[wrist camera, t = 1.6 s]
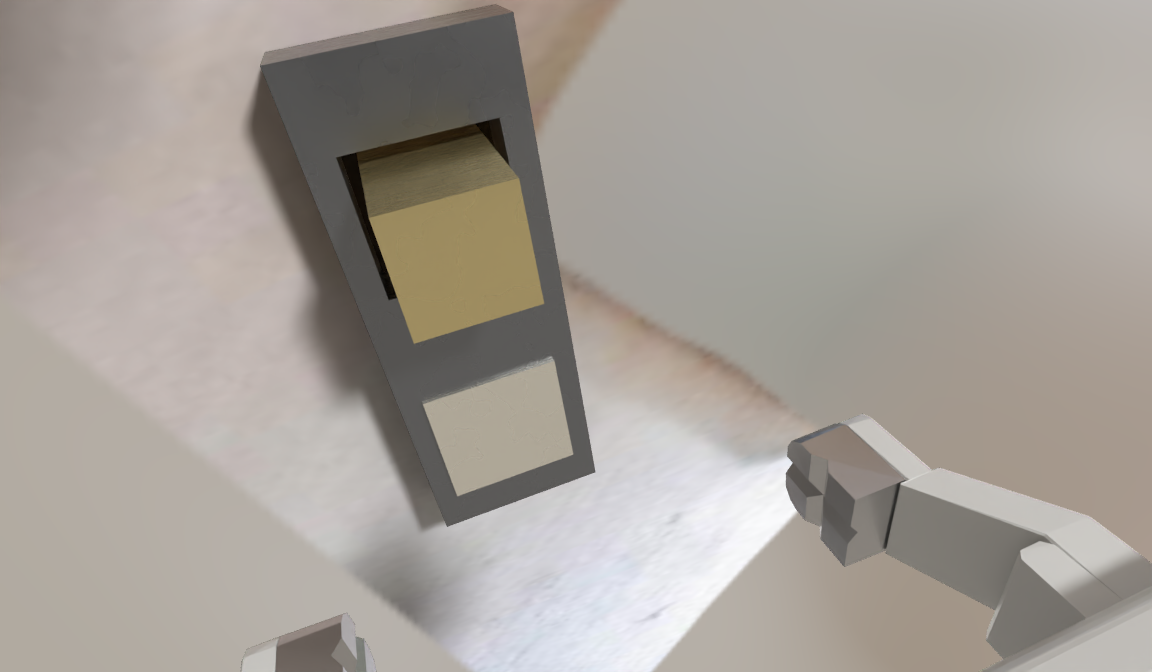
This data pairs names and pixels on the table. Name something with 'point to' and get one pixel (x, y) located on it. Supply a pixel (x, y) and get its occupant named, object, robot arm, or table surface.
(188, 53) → the table surface
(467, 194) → the tan block
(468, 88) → the plate
